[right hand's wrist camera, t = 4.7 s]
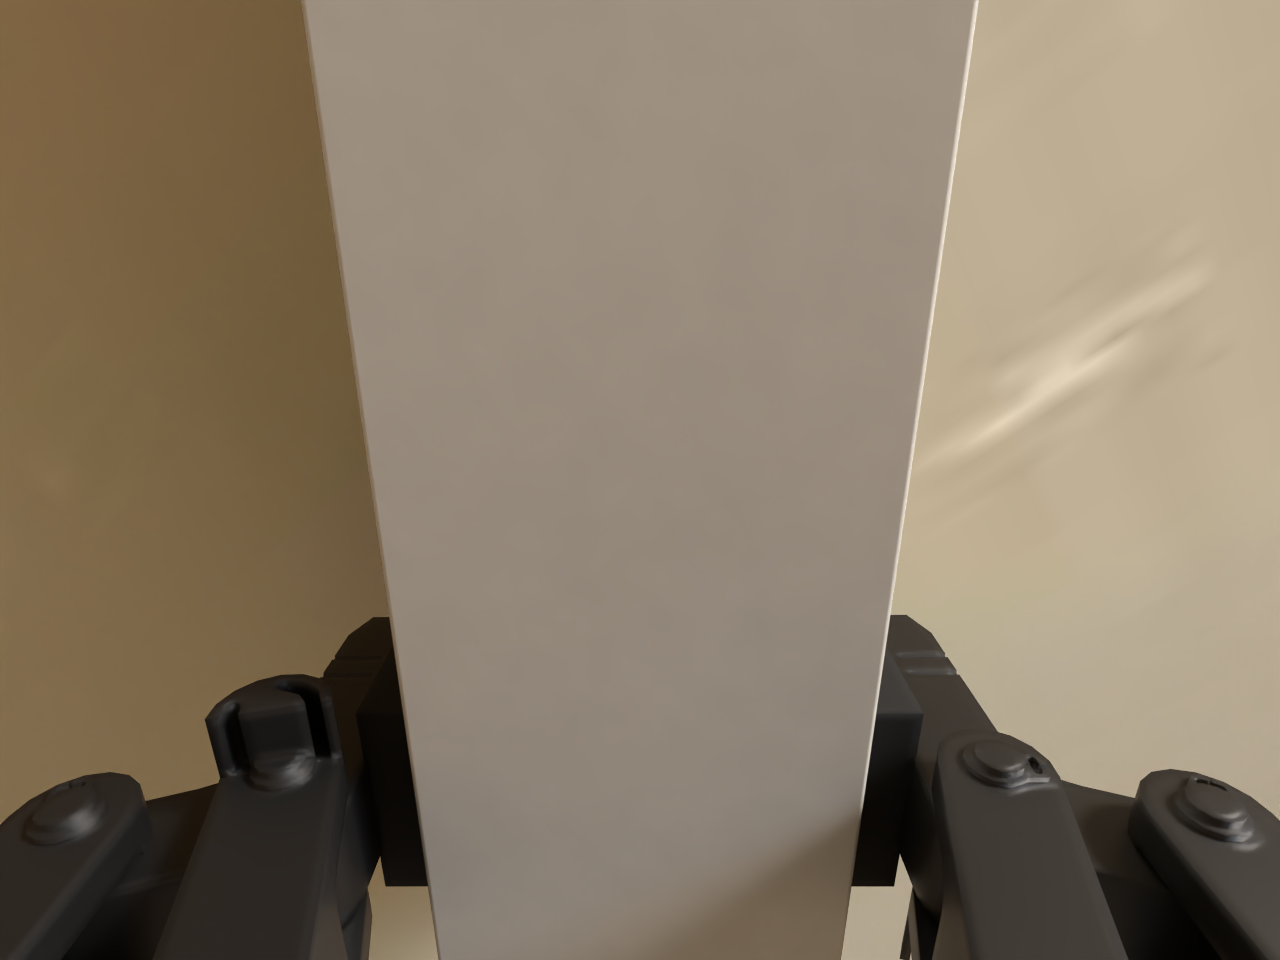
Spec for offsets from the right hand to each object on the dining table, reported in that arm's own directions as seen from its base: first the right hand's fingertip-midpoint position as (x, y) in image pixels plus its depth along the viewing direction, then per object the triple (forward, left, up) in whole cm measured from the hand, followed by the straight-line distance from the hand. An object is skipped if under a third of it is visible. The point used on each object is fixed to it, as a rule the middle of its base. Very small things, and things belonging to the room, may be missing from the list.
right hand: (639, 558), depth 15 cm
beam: (+11, +20, -1) cm, 23 cm away
